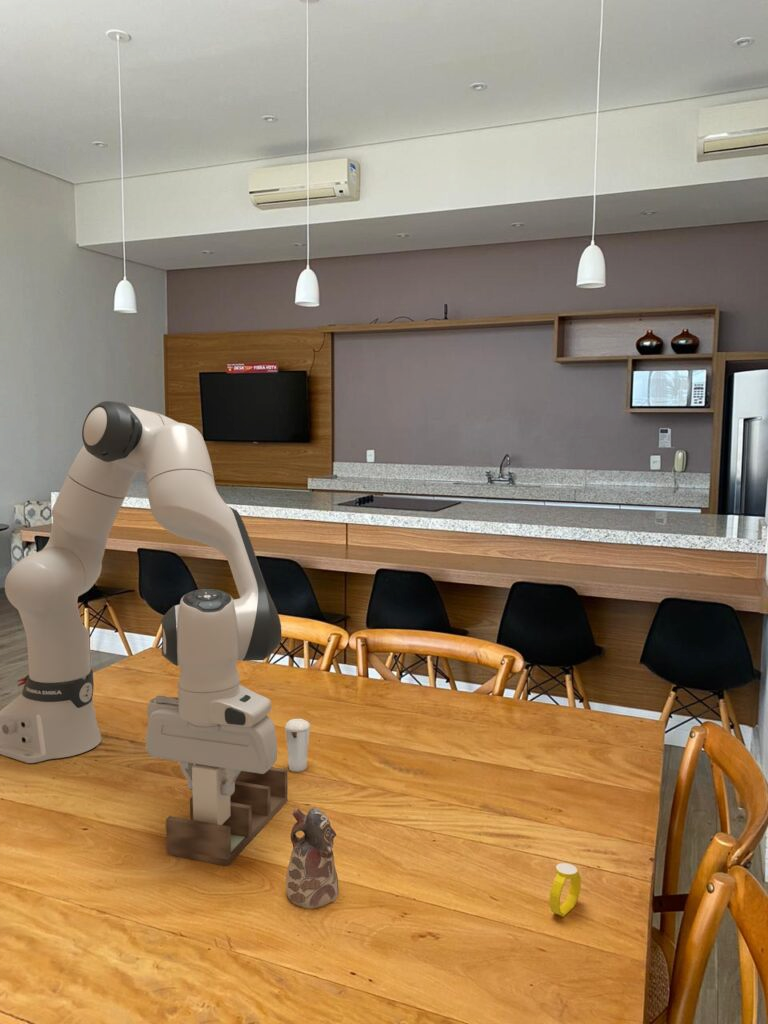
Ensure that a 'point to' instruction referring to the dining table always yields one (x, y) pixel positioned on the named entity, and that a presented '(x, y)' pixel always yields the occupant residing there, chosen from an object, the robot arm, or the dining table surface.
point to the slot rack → (230, 820)
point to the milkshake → (297, 743)
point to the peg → (209, 794)
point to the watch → (563, 873)
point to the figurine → (312, 861)
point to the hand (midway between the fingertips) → (211, 791)
